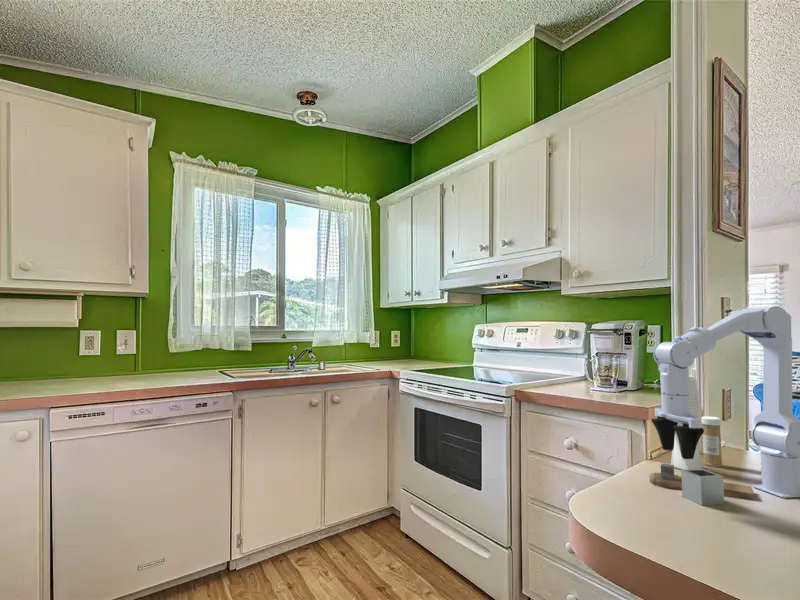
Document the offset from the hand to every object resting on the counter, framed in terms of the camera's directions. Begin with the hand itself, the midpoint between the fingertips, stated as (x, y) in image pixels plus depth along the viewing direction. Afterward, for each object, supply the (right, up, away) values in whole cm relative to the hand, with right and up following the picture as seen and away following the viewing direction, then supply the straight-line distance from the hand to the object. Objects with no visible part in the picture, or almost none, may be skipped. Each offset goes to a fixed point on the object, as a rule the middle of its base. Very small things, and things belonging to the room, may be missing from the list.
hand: (677, 454), depth 106 cm
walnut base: (+9, -10, +6) cm, 15 cm away
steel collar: (+5, -10, -2) cm, 11 cm away
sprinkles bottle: (+25, -12, +26) cm, 38 cm away
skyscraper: (+16, -12, +22) cm, 30 cm away
